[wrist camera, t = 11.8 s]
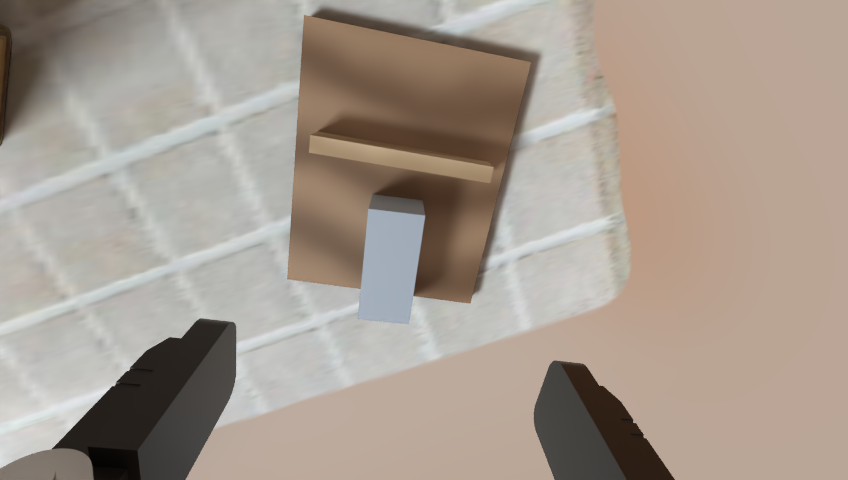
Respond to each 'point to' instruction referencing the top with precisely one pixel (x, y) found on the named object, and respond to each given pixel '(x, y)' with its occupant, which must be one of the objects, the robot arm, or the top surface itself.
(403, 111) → the board
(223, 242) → the top surface
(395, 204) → the block
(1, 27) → the food packaging
